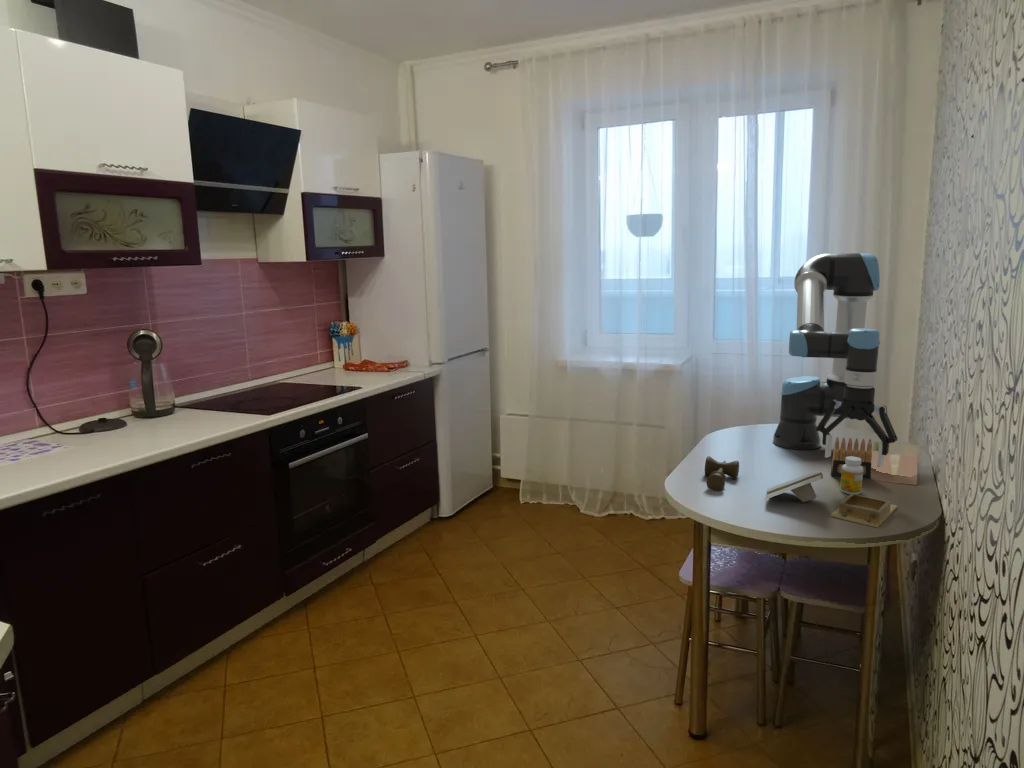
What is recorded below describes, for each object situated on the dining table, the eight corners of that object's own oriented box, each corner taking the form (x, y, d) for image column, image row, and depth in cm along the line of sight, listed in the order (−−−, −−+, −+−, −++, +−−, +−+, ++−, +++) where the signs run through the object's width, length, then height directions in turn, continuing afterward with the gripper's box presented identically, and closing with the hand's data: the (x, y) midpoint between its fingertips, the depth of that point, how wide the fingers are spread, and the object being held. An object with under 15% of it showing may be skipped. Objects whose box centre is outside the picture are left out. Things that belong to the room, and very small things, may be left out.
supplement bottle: (835, 489, 196) (838, 456, 194) (852, 487, 197) (854, 454, 195) (848, 495, 191) (851, 462, 189) (865, 493, 192) (868, 460, 190)
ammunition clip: (831, 476, 207) (834, 437, 204) (830, 474, 209) (833, 436, 206) (870, 479, 204) (874, 440, 202) (869, 477, 206) (873, 438, 203)
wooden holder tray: (852, 498, 189) (853, 489, 189) (896, 507, 182) (897, 498, 181) (830, 516, 177) (831, 506, 177) (877, 527, 170) (878, 517, 169)
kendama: (697, 490, 198) (708, 468, 216) (732, 496, 194) (740, 472, 212) (698, 471, 197) (709, 450, 215) (733, 476, 193) (741, 454, 211)
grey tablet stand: (785, 526, 181) (835, 494, 176) (763, 499, 183) (812, 466, 178) (787, 514, 196) (833, 484, 191) (767, 488, 198) (812, 458, 193)
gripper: (807, 382, 194) (802, 455, 198) (907, 393, 177) (899, 473, 181) (817, 378, 199) (812, 450, 203) (914, 389, 183) (907, 466, 186)
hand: (853, 461), depth 192 cm, fingers open, 13 cm apart
